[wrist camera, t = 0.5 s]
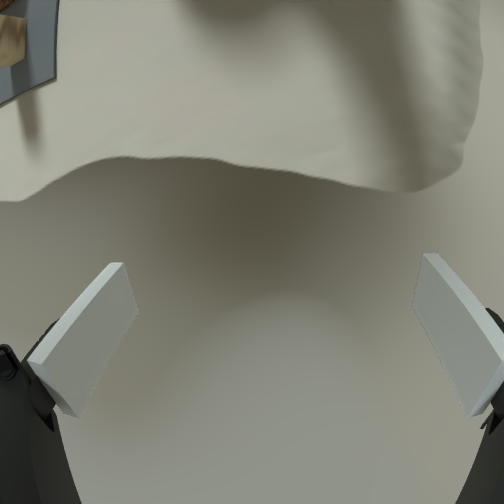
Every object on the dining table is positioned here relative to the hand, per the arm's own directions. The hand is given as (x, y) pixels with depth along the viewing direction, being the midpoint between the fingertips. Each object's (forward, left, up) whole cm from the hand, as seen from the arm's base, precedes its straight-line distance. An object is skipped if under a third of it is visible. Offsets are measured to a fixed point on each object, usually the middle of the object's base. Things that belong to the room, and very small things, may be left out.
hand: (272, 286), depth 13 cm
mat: (-28, -46, -27) cm, 60 cm away
